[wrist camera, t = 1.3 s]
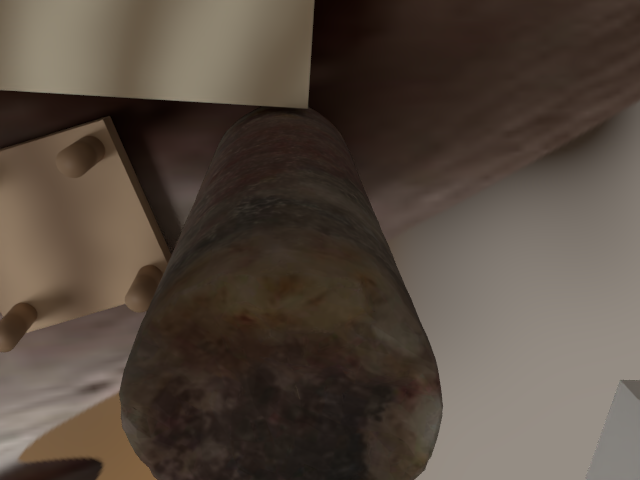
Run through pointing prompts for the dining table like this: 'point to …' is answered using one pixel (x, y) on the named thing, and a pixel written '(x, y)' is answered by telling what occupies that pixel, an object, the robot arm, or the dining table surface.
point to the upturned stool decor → (73, 231)
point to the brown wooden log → (282, 325)
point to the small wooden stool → (160, 49)
